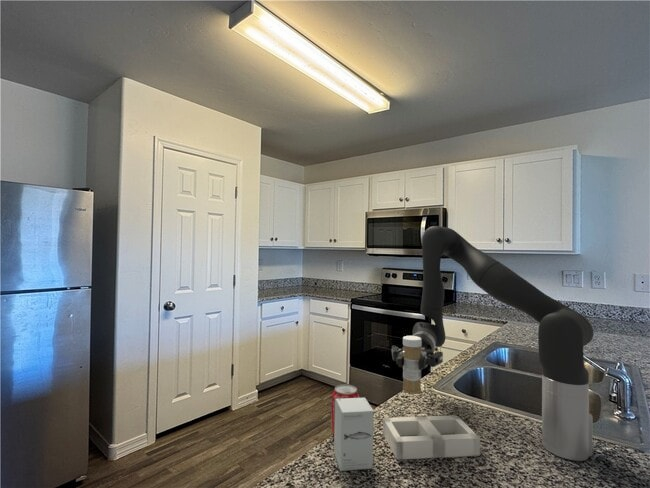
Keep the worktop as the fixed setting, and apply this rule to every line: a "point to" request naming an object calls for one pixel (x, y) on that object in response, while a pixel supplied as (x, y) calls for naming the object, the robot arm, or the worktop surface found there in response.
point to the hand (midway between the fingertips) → (410, 364)
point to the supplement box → (353, 434)
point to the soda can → (341, 393)
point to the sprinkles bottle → (411, 364)
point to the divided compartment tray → (430, 437)
